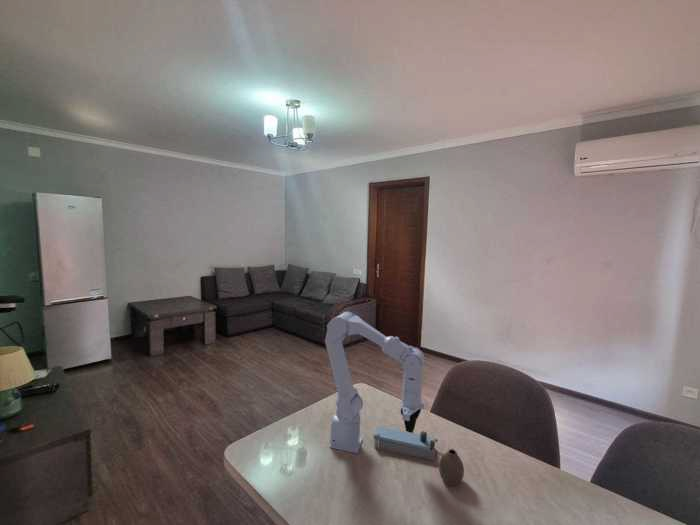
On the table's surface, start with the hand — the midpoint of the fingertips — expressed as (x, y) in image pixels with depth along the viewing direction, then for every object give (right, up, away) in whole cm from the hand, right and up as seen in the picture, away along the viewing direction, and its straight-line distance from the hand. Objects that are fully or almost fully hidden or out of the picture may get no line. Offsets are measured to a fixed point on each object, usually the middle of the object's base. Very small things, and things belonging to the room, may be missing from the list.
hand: (409, 431), depth 98 cm
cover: (-1, -6, +7) cm, 9 cm away
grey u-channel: (0, -9, +7) cm, 12 cm away
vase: (+11, -11, -6) cm, 17 cm away
